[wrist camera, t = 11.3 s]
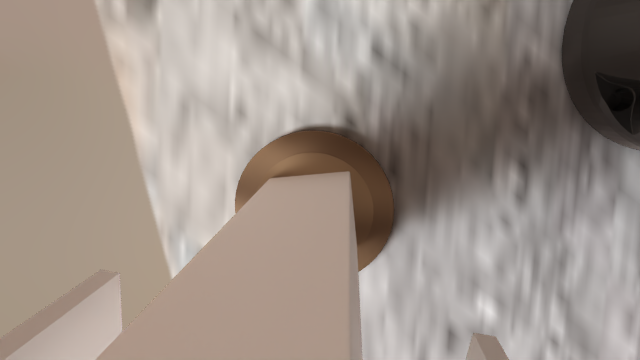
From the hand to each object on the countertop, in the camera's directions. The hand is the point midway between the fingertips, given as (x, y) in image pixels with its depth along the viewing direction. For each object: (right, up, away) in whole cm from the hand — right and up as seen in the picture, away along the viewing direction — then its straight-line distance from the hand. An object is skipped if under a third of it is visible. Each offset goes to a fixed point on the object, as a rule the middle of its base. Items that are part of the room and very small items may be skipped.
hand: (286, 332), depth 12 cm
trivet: (+1, +3, +13) cm, 14 cm away
